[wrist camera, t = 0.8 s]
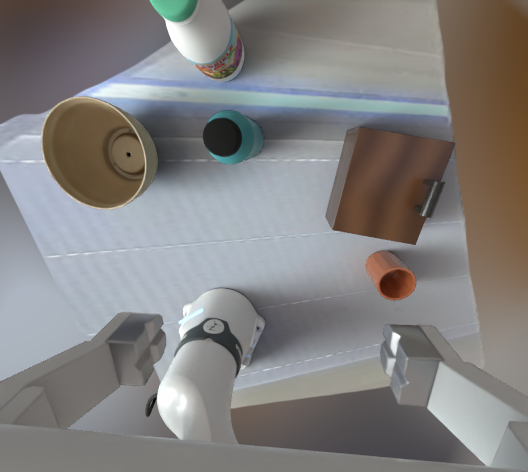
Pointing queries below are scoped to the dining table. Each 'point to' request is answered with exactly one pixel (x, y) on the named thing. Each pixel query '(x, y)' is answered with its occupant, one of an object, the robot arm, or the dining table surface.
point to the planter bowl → (98, 152)
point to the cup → (390, 275)
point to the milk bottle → (204, 35)
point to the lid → (391, 185)
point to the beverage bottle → (232, 137)
